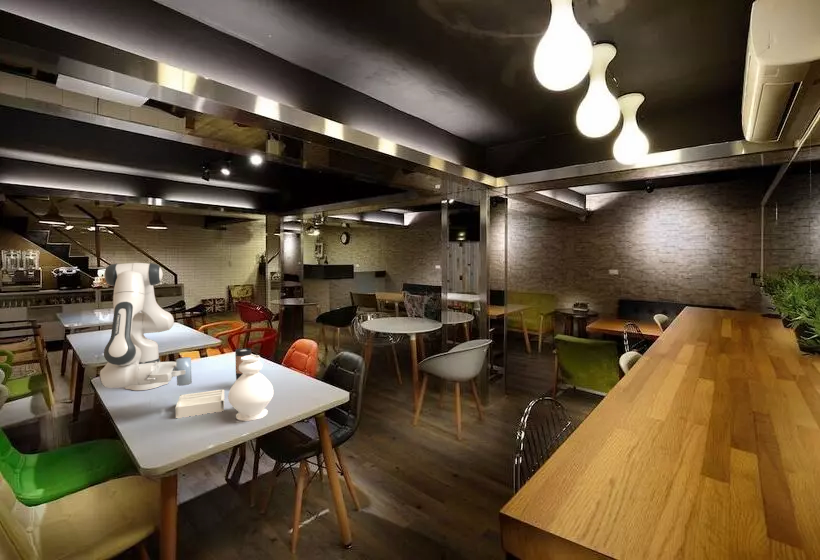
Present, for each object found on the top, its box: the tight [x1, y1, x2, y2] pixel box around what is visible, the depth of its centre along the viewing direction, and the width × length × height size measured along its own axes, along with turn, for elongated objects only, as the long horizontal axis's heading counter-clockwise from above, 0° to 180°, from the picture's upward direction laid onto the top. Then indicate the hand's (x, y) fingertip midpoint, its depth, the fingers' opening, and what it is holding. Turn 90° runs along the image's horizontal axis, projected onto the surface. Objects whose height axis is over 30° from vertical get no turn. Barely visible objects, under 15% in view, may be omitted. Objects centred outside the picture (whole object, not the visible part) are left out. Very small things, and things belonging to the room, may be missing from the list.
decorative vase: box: [228, 354, 275, 422], centre depth 161 cm, size 18×18×25 cm
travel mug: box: [234, 347, 252, 381], centre depth 195 cm, size 8×8×20 cm
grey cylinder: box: [175, 356, 193, 387], centre depth 165 cm, size 6×6×11 cm
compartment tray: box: [174, 388, 225, 419], centre depth 169 cm, size 16×18×5 cm
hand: (186, 369), depth 165 cm, fingers closed on grey cylinder, 5 cm apart
